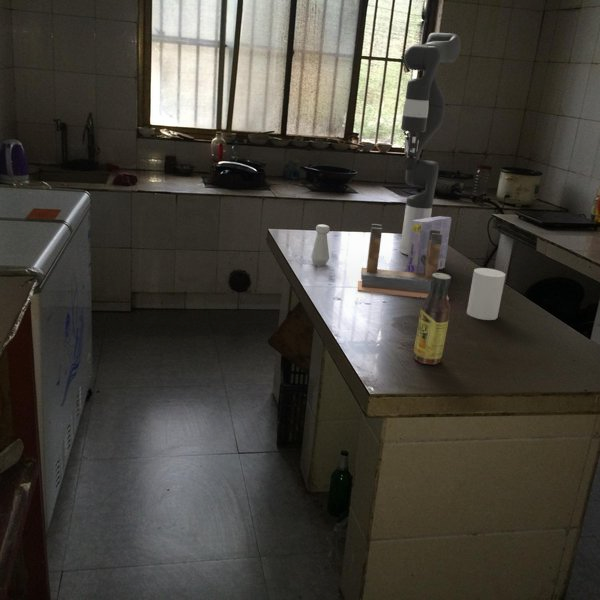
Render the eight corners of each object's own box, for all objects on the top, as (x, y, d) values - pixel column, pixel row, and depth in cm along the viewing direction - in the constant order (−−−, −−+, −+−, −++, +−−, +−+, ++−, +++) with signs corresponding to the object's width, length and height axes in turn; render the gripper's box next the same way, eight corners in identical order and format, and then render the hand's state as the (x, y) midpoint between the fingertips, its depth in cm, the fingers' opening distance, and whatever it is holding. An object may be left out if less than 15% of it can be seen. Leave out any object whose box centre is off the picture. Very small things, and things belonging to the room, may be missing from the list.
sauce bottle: (409, 354, 146) (422, 269, 140) (436, 355, 147) (450, 271, 141) (417, 366, 140) (430, 278, 134) (445, 367, 141) (459, 280, 134)
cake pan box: (434, 264, 223) (441, 213, 218) (447, 268, 220) (455, 216, 214) (403, 273, 209) (411, 219, 204) (417, 277, 206) (425, 222, 201)
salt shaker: (329, 262, 214) (332, 224, 210) (328, 267, 209) (331, 228, 205) (311, 261, 215) (314, 222, 210) (309, 265, 209) (313, 226, 205)
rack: (436, 279, 205) (444, 230, 200) (439, 287, 198) (447, 236, 193) (361, 272, 207) (366, 222, 202) (361, 279, 199) (367, 228, 194)
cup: (498, 312, 179) (506, 271, 175) (496, 322, 172) (504, 278, 168) (468, 307, 181) (475, 266, 178) (465, 316, 174) (472, 273, 170)
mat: (444, 290, 195) (444, 289, 194) (448, 300, 186) (448, 298, 186) (358, 282, 196) (358, 280, 196) (358, 291, 188) (358, 289, 187)
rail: (442, 292, 192) (444, 280, 191) (444, 295, 189) (445, 283, 187) (361, 283, 193) (362, 272, 192) (361, 286, 190) (362, 275, 189)
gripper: (429, 117, 192) (422, 172, 197) (425, 114, 205) (418, 166, 211) (404, 115, 192) (397, 170, 198) (401, 112, 206) (395, 164, 211)
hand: (408, 168), depth 204 cm, fingers open, 8 cm apart
